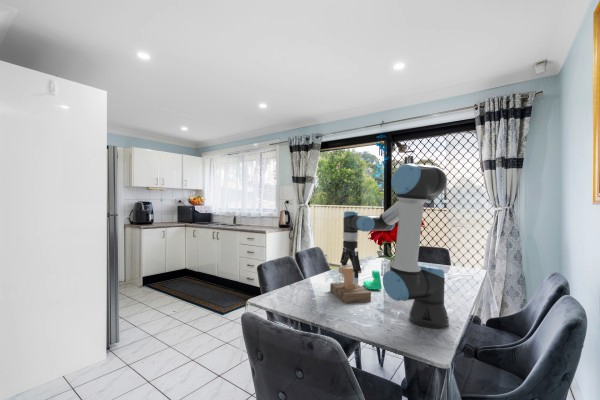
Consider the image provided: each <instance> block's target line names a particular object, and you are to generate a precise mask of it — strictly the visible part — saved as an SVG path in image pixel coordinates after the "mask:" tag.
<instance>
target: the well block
mask: <svg viewBox="0 0 600 400" xmlns="http://www.w3.org/2000/svg"><path fill="white" fill-rule="evenodd" d="M329 291H330V293H332V294H333V295H334V296H336V298H337V299H339V301H341V302H342V303H344V304H355V303H356V304H357V303H368V302H372V292H371V291H369V289H366V288H365V287H364V286H361V285H360V284H359V283H358V284H355V289H348V290H347V289H345V288H344V281H342V282H330V284H329Z"/></svg>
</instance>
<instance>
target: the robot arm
mask: <svg viewBox="0 0 600 400" xmlns="http://www.w3.org/2000/svg"><path fill="white" fill-rule="evenodd" d="M390 183H391V187H392V190H393V191H394V193H396V199H397V201H396V202H395V203H394V204H392V205H391V206H390V207H389V208H388V209H386V210H385V211H384V212H382V213H381V214H380V215H359V212H358V211H356V210H354V211H353V210H351V211H350V210H346V211H344V212H343V222H342V223H343V227H342V228H343V232H342V233H343V234H342V235H343V236H342V239H343V243H342V253H341V258H340V264H341V267H348V262H349V260H350V262H351V265H352V266H351V267H353V269H354V270H353V284H358V285H359V273H358V271H361V272H362V267H361V263H360V257H359V251H358V250H357V251H356V249H358V238H359V237H358V236H359V234H358V233H359V232H358V231H360V232H366V233H367V232H368V233H369V232H371V231H372V232H373V231H386V232H387V231H392V230H393V229H394V228H395V226H396V223H397V233H396V243H395V245H396V246H395V253H394V261H391V263H390V265H389V270H387V271H386V272H385V273H384V274H383V276H382V284H383V288H384V290H385V293H386V294H387V296H388V297H389V298H391V299H392V300H394V301H397V302H402V301H403V302H406V301H411V300H413V302H412V305H411V307H410V308H411V309H410V310H409V314H408V316H409V320H410V321H411V322H412V323H414V324H416V325H419V326H421V327H425V328H430V329H444V327H445V328H447V327H448V326H449V324H450V322H449V319H450V318H449V316H448V313H447V309H446V307H445V285H446V284H445V280H446V277H445V270H444V269H442V268H441V267H437V266H434V265H429V264H422V263H418V262H419V253H420V242H421V234H422V233H421V232H422V220H423V211H424V204H425V203H426V202H431V201H433V200H435V199H436V198H438V197H439V196H440V195H441V194H442V193H444V190H445V189H446V187H447V185H448V184H447V183H448V179H447V174H446V173H445V172H444V171H443V169H441V168H440V167H438V166H434V165H426V164H425V165H424V164H418V163H405V164H402V165H400V166H398V167H397V168H396V169H395V171H394V172H393V174H392V176H391V182H390ZM341 278H343V279H344V274H341ZM446 326H447V327H446Z"/></svg>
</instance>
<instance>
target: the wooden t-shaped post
mask: <svg viewBox="0 0 600 400" xmlns="http://www.w3.org/2000/svg"><path fill="white" fill-rule="evenodd" d="M353 270H354V269H353V266H347V267H342V266H339V267H338V273H340V274H341V275H342V274H344V277H343V282H344V288H345V289H347V290H348V289H355V284H353ZM358 274H362V270H361V271H358Z"/></svg>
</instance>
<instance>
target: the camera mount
mask: <svg viewBox="0 0 600 400" xmlns="http://www.w3.org/2000/svg"><path fill="white" fill-rule="evenodd" d="M380 273H381V272H380V271H379V270H372V271H371V277H372V280H363V288H364V289H366V290H382V281H381V274H380Z"/></svg>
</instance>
